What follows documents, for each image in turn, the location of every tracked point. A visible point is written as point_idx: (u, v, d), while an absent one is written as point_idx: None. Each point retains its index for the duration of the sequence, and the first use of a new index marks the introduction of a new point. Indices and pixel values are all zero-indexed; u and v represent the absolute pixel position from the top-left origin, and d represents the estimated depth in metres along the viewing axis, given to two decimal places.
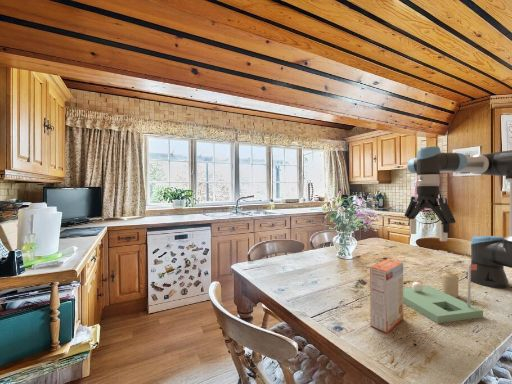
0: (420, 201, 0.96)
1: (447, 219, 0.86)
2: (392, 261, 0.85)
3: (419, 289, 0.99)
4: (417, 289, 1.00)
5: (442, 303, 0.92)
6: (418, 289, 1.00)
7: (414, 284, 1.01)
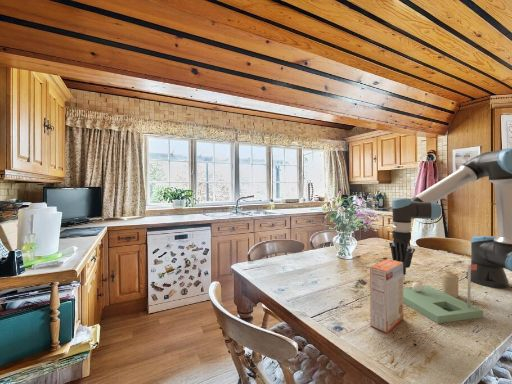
0: (395, 244, 1.11)
1: (404, 264, 1.06)
2: (392, 261, 0.85)
3: (419, 289, 0.99)
4: (417, 289, 1.00)
5: (442, 303, 0.92)
6: (418, 289, 1.00)
7: (414, 284, 1.01)
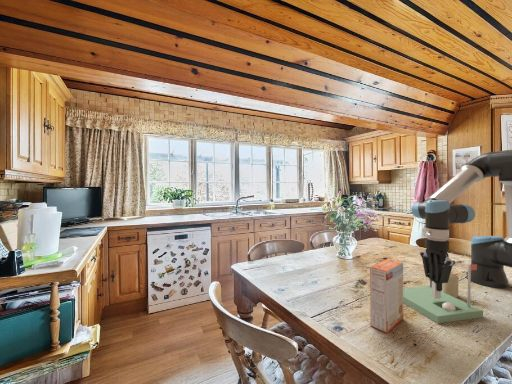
0: (429, 255, 0.93)
1: (441, 279, 0.89)
2: (392, 261, 0.85)
3: None
4: None
5: (442, 303, 0.92)
6: None
7: (447, 307, 0.87)
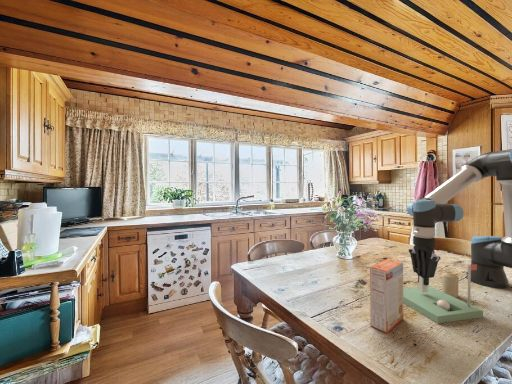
0: (417, 251, 0.99)
1: (428, 274, 0.95)
2: (392, 261, 0.85)
3: (446, 308, 0.88)
4: (444, 308, 0.88)
5: None
6: (445, 308, 0.88)
7: (439, 302, 0.89)
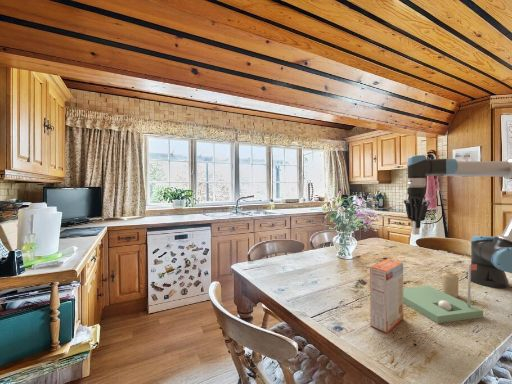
0: (410, 200, 1.16)
1: (419, 217, 1.12)
2: (392, 261, 0.85)
3: (447, 310, 0.87)
4: None
5: None
6: (446, 310, 0.88)
7: (441, 303, 0.89)
